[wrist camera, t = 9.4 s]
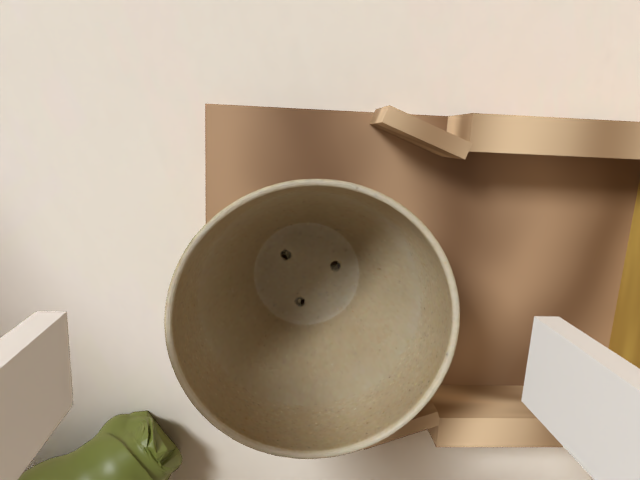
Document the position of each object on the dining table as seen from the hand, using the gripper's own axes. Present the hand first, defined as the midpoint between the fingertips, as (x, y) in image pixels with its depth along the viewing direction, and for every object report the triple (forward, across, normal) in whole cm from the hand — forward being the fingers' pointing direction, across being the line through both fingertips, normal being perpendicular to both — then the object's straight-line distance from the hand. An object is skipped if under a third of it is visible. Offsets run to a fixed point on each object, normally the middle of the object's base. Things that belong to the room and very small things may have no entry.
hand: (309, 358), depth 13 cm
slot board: (+11, +7, 0) cm, 13 cm away
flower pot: (+10, +1, 0) cm, 10 cm away
